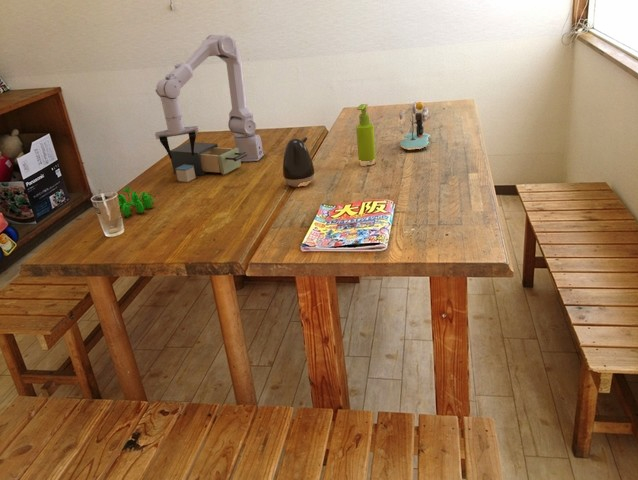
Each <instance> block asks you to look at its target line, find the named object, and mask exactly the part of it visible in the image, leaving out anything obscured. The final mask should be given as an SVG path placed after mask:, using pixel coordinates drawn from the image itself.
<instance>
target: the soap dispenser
mask: <svg viewBox="0 0 638 480" xmlns="http://www.w3.org/2000/svg"><path fill="white" fill-rule="evenodd" d="M368 105H369V104H368V103H361V104H360V105H358V107H357V108H356V110H357V111H361V113H360V114H359V115H358V118H359V120H358V121H359V124H357V125H356V126H355V128H356V130H355V131H356V143H357V144H356V145H357V157H358V161H359V160H361V161H370V160H373V159H375V158H376V157H377V155H376V141H375V140H376V139H375V126H374V125H375V124H373V123H371V122H370V119H371V118H370V114H369V113H367V107H369V106H368ZM376 159H377V158H376Z"/></svg>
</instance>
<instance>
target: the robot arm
mask: <svg viewBox="0 0 638 480" xmlns="http://www.w3.org/2000/svg"><path fill="white" fill-rule="evenodd" d="M209 57H217V58H219V59H220V60H222V61H223V62H224V63H225V64H226V70H227V71H226V72H227V78H228V86H229V95H230V103H231V110H230V111H229V113H228V117H229V118H228V123H227V126H228V129H229V131H230V132H231V133H232V136H233V138H234V144H235V148H239V153H244V152H246V153H247V156H245V157H243V158H241V159H240V160H241V163H242V162H258V161H259V160H261V159H262V158H263V157H264V156H265V153H264V149H263V142H262V138H261V135H260V134H255V132H256V129H257V124H256V121H255V118H254V114H253V113H252V111H251V110H250V109H249V108H248V104H247V103H248V102H247V95H246V94H247V93H246V85H245V77H244V68H243V60H242V55H241V52H240V51H239V48H238V46H237V41H236V39H234V38H233V37H231V35H228V34H224V35H220V34H219V35H218V34H217V35H216V34H208V36H207V37H205V38H204V39H203V40H202V41H201V44H200V45H199V47H197V49H196V50H195V51H194V52H193V54H192V55H191V56H190V57H189V58H188V59H187V60H186V61H185V62H179V63H176V64H175V65H174V68H173V69H172V71H170V72H169V73H167V74H165V78H163V79H159V80H158V82H157V83H156V86H155V87H156V89H155V93H156V95H157V96H158V97H159V99H160V101H161V105H162V109H163V115H164V119H165V124H166V128H167V129H166V130H160V131H155V132H154V135H155V139H156V140H159V142H160V144H161V145H162V146H163V148H164V149H165V151H166V153H167V154H168V157H169V159H170V160H171V159H172V155H171V152H170V150H171V149H170V144H169V140H168V138H170V137H177V136H184V135H188V139H189V142H190V144H191V152H192V155H194V143H195V142H196V139H197V134H199V133H200V130H199V127H198V125H194V126H185V123H184V118H183V113H182V108H181V104H180V99H179V96H180V94H181V89H183V87H185V85H186V84H187V83H188V82H189V81H190V80H191V79H192V78H193V76H194V75H193V74H194V73H193V72H194V71H195V70H196V69H197V68H198V67H199V66H200V65H201V64H202V63H203V62H205V60H207V59H208V58H209Z"/></svg>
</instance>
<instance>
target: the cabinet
mask: <svg viewBox="0 0 638 480" xmlns="http://www.w3.org/2000/svg"><path fill="white" fill-rule="evenodd" d="M213 147H218V148H219V145H218V143H213V142H197V141H195V143H194V155H192V152H191V144H190V141H188V142H186V143H184V144H181V145H179V146H177V147H174V148H172V149H170V152H171V155H172V159H170V161H171V167H172V170H173V174H177V173H176V170H175V168H177V167H179V166H182V165H194V171H195V176H204V175H205V174H207V173H209V172H206V171H202V167H201V162H200V157H199V154H200V153H203V152H205V151H207V150H209V149H211V148H213Z"/></svg>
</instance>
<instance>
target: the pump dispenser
mask: <svg viewBox="0 0 638 480" xmlns="http://www.w3.org/2000/svg"><path fill="white" fill-rule="evenodd" d="M307 141H308V137H307V136H304V138H302V139H300V138H297V137H293V138H291V139H290V140H289V141H288V142H287V143H286V146H285V149H284V153H283V154H284V155H283V161H282V177H283V178H284V180H285V182H286V183H287V185H288V186H290V187H292V188H296V189H297V187H298V185H299V184H300V183H303V182H307V181H310V180H312V179H313V180H314V175H315V167H314V162H313V159H312V156H311V153H310V151H309V150H308V147H307V146H306V142H307ZM313 180H312V181H313Z"/></svg>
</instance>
